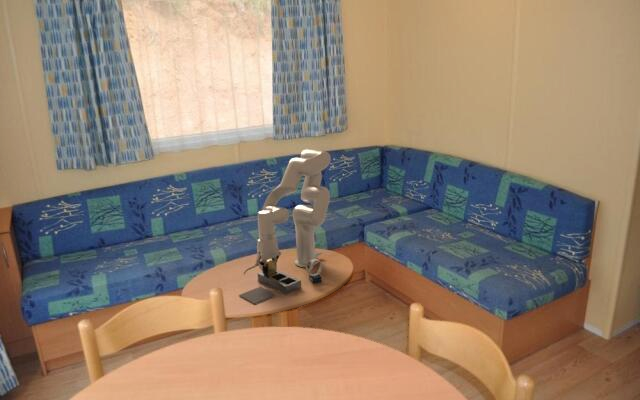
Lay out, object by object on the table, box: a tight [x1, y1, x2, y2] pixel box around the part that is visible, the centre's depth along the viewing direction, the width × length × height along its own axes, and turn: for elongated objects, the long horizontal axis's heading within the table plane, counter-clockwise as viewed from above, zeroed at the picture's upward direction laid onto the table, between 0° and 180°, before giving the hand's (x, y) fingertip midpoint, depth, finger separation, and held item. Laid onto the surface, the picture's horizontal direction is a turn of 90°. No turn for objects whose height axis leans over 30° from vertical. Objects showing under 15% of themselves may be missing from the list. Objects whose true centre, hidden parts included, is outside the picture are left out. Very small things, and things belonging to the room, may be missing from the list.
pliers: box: [243, 261, 263, 275], centre depth 249 cm, size 10×1×20 cm
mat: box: [239, 286, 277, 305], centre depth 218 cm, size 12×12×1 cm
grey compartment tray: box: [257, 269, 302, 295], centre depth 228 cm, size 22×9×4 cm, turn 43°
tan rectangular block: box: [264, 259, 277, 276], centre depth 232 cm, size 4×4×10 cm
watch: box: [305, 258, 324, 285], centre depth 228 cm, size 6×8×11 cm
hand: (269, 270), depth 232 cm, fingers open, 4 cm apart
